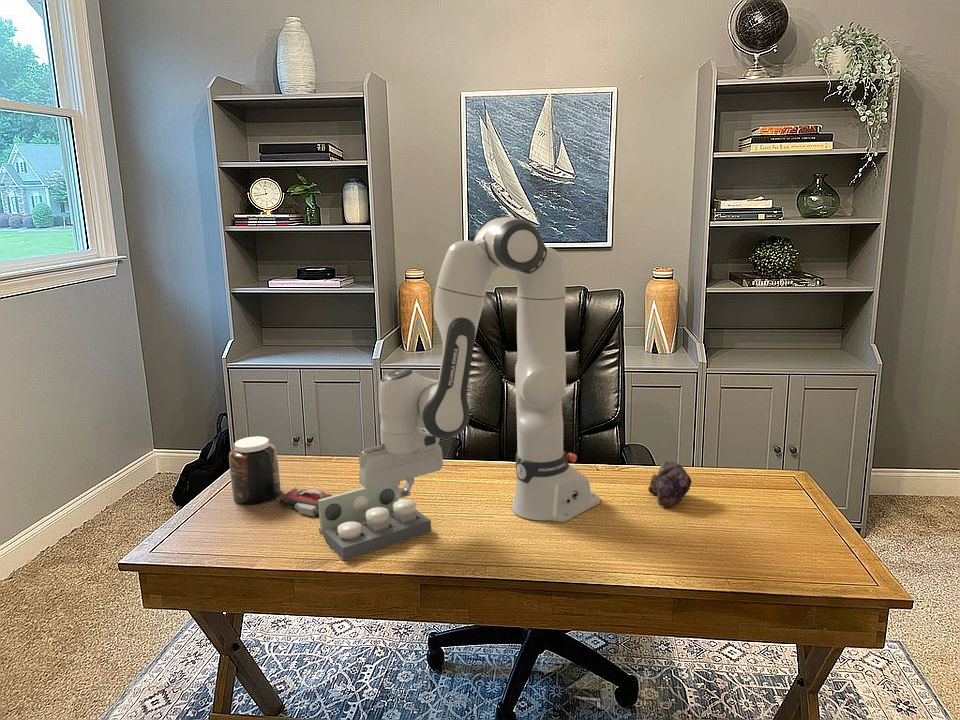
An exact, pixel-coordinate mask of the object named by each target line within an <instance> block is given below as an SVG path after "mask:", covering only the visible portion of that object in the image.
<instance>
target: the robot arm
mask: <svg viewBox="0 0 960 720" xmlns="http://www.w3.org/2000/svg"><path fill="white" fill-rule="evenodd" d="M563 262H564V261H563V257H562V255H561V254H560V252H559V251H558V250H556V249H554V248H552V247H549V246H546V245H545V243H544V241H543V238H542V236H541V233H540V232H539V231H538V229H537V228H536V227H535V226H534V225H533V224H532V223H530V222H528V221H527V220H524V219H520V218H516V217H514V216H504V217H503V216H493V217H490V218H489V219H487V220H485V221H484V222H482V224H481V225H479V227H478V228H477V230H475V233H474V234H473V235H472V236H471V237H470V238H469V240H465V239H464V240H459V241H455V242H454V243H452V244H451V245H450V246H449V248H448V249H447V251H446V254H445V256H444V259H443V261H442V263H441V267H440V269H439V270H440V271H439V274H438V276H437V277H438V278H437V282H436V287H435V291H434V298H433V299H434V300H433V318H434V320H435V322H436V325H437V328H438V331H439V333H440V337H441V341H442V357H441V364H440V370H439V375H438V379H435V378H430V377H426V376H423V375H420V374H419V373H417V372H416V371H414V370H413V369H411V368H399V369H394V370H392V371H390V372H388V373H386V374H384V375H383V377H381V379H380V382H379V386H378V388H379V389H378V410H379V411H378V412H379V414H380V419H381V422H380V426H379V429H380V444H378V445H375V446H371V447H366V448H365V449H364V450H362V452H361V453H360V454H359V455H358V464H359V477H358V481H359V483H360V485H361V486H362V488H363V487H365V488H366V489H368V490H369V489H373V488H377V487H381V486H385V485H388V484H391V485H392V486H393V488H394V489H395V490H396V497H397V498H398V500H401V499H402V498H407V497H409V496H411V489H412V487H413V485H414V484H415V478H417V477H421V476H424V475H428V474H432V473H435V472H440V471H441V470H442V468H443V465H444V458H443V450H442V447H441V445H440V444H439V443H440V439H441V440H443V439H444V440H446V439H452V438H455V437H457V436H459V435H460V434H462V433H463V432H464V430H465V429H466V428H467V426H468V425H469V422H470V417H471V415H470V406H469V403H468V397H467V396H468V395H467V394H468V393H467V391H468V385H469V379H470V371H471V366H472V359H473V355H474V347H475V341H476V335H477V331H478V327H479V322H480V318H481V316H482V315H481V314H482V311H483V307H484V302H485V299H486V298H485V297H486V293H487V288H488V283H489V281H490V277H492V274H493V273H494V271H496V269H498V268H507V269H510V270H513V271H514V273H515V275H516V281H517V290H516V291H517V292H516V294H517V295H516V298H517V299H516V342H517V343H516V345H517V346H516V347H517V354H516V355H517V361H516V363H515V367H514V378H515V379H514V380H515V381H514V382H515V384H514V385H515V407H516V408H515V410H516V434H517V435H516V438H517V439H516V440H517V447H516V448H517V449H516V451H517V452H516V453H515V471H516V481H515V482H516V483H515V491H514V496H513V501H512V504H511V511H512V513H514V514H516V515H517V516H519V517H521V518H524V519H528V520H531V521H532V520H533V521H553V522H560V523H564V522H568V521H569V520H572V519H573V518H575V517H577V516H579V515H580V514H583V513H584V512H586V511H588V510H589V509H591V508H593V507H595V506H597V505H599V504H600V503H601V498H600V496H599V495H598V494H597V493H595V492H594V491H592V490H591V484H590V480H589V479H588V478H587V476H586V475H585V474H583V473H582V472H580V471H579V470H577V469H575V468H574V467H573V466H571V465H570V464H569V461H570V462H571V463H576V461H577V460H578V459H577V458H578V456H577V454H575V453H572V452H568V453H567V451H565V450H564V417H563V405H562V402H563V401H562V399H563V398H564V395H565V393H566V388H567V387H566V386H567V369H566V368H567V363H566V360H567V357H566V356H567V355H566V354H567V353H566V336H565V330H566V329H565V324H566V322H565V320H566V319H565V317H566V276H565V267H564V263H563ZM421 424H423V425H424V427H420V425H421ZM403 481H405V484H404V486H403V487H401V488H400V487H399V486H401V482H403Z"/></svg>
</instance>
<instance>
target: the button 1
mask: <svg viewBox="0 0 960 720" xmlns="http://www.w3.org/2000/svg"><path fill="white" fill-rule="evenodd" d="M361 534H362V530H361V524H360V523H358V522H345V523H342V524H340V525H339V526H338V537H339V538H341V539H342V540H343V541H344V542H345V541H348V540H351V539H355V538H358V537H361Z"/></svg>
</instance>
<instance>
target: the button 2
mask: <svg viewBox="0 0 960 720" xmlns="http://www.w3.org/2000/svg"><path fill="white" fill-rule="evenodd" d="M416 505H417V504H416V501H415V500H412V499H398V501H396V502H395V503H394V504H393V511H394V519H395V520H396V521H397V522H399V523H400V524H402V523H406V522H409V521H412V520H415V519H416V510H417V507H416Z"/></svg>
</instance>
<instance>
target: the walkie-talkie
mask: <svg viewBox="0 0 960 720" xmlns="http://www.w3.org/2000/svg"><path fill="white" fill-rule="evenodd" d="M330 496H334V495H333V494H330V493H326V492H324V491H323V490H321V489H316V488H308V489H303V488H302V487H301V488H296V487H295V488H293V489H291V490H289V491H288V492H286V493H284V494H283V496H282V498H281V499H279V500H278V504H279V505H283V507H284V506H286V507H285V508H289V507H291V508H290V509H294V508H295V510H296V511H297V510H298V511H297V512H298V514H299V513H300V514H299V515H303V514H305V515H304V516H308V515H309V517H311V516H312V517H314V516H315V515H317V516H319V506H318V500H319V499H323V498H327V497H330ZM313 515H314V516H313Z"/></svg>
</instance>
